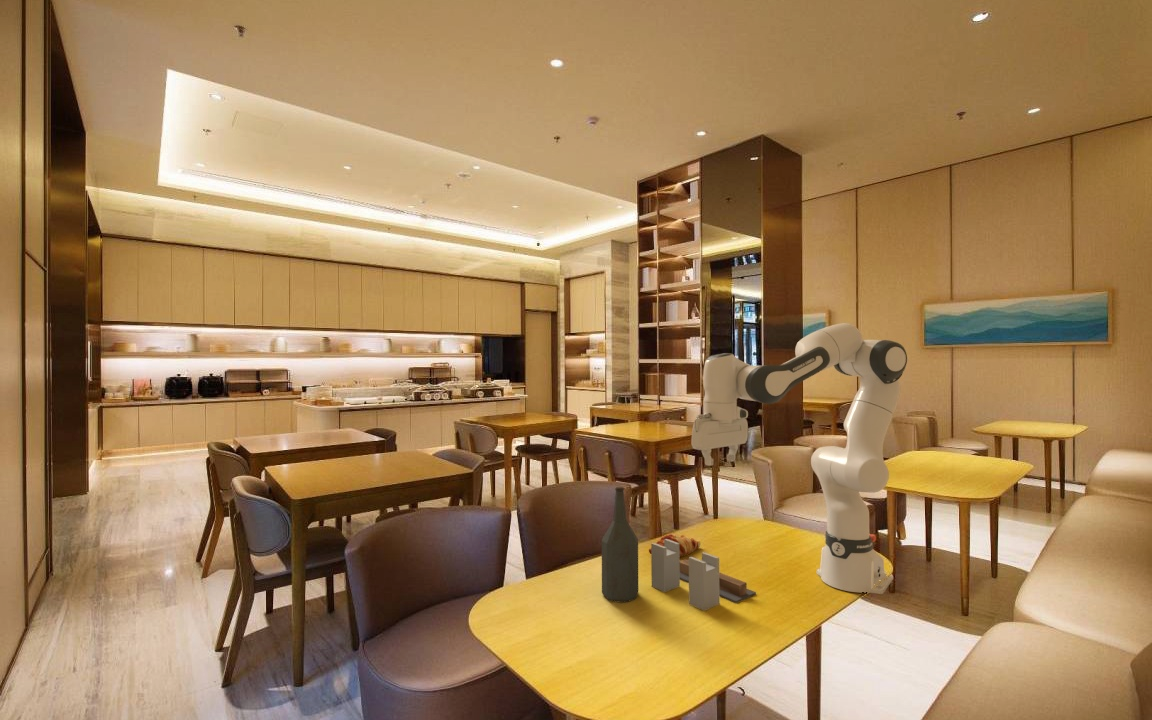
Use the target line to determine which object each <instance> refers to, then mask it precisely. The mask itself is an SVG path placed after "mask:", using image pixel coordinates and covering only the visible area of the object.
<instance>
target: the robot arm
mask: <svg viewBox="0 0 1152 720" xmlns="http://www.w3.org/2000/svg"><path fill="white" fill-rule="evenodd" d="M794 352H795V357H793V358H791V359H789V360H788V361H786V362H783V363H782V364H765V365H751V364H749V363H747V362H745V361H742V360H740V359H739V358H738V357H736V356H735V355H734V354H733V353H730V352H729V353H728V352H724V353H717V354H712V355H710V356H708V357H707V358H706V359H705V361H704V366H703V377H702V379H703V380H702V381H703V382H702V385H703V389H704V390H703V391H704V396H703V400H702V401H703V403H702V405H703V406H702V407H703V408H702V410H703V414H701V413H700V414H698V415H697V417H696V418H694V423H693V425H692V429H691V430H692V432H691V439H690V440H691V447H692V449H694V450H698V451H701V453H702V456H703V459H704V465H705V466H707V467H708V466H709V467H710V466H713V465H714V464H715V463H714V458H713V457H712V456H711V453H712V449H720V448H726V447H728V448H729V449H728V454H726V461H727V462H731V463H732V462H735V461H736V455H737V452H738V449H739V445H743V444H746V443H747V440H748V437H749V426H748V420H747V418H748V416H749V412H748V410H747V409H745V408H742V407H740V406H738V404H737V403H738V399H741V400H745V401H753V402H759V403H762V404H766V405H771V404H775V403H778V402H780V400H782V399H783V398H784V397H785V396H786V395H787V394H788V393H789V392H790V390H791V389H793V388H794V387H795V386H796V385H798V384H800V383H802V382H804V381H806V380H807V379H810V377H813V376H815V375H816V374H818V373H821V372H822V371H824V370H827V369H830V368H832V367H834V369H835V370H836V371H837V372H839V373H840V374H843V375H845V376H854V377H859V381H860V382H859V383H860V385H859V388H858V390H857V392H856V394H855V396H854V398H853V400H852V402H851V404H850V407H849V409H848V411H847V414H846V416H845V419H844V421H843V428H844V430H845V432H846V434H847V435H846V436H847V437H846V446H845V447H841V446H837V445H827V446H820V447H818V448H816V449H815V450H814V452H813V453H812V454H811V458H810V466H811V468H812V471H813V472H814V474H815V475H816V476H817V479H818V481H819V483H820V485H821V489H822V493H823V498H824V501H825V506H826V507H825V508H826V531H825V535H824V539H825V543H824V544H825V545H824V546H823V547H821V552H820V553H821V556H820V567H819V568H817V569H816V574H817V575H818V576H819V577H821V579H820V580H822V581H823V583H825V584H826V585H828V586H829V587H832V588H835V589H838V590H841V591H846V592H850V593H861V594H863V593H862V592H864V593H866V592H867V593H870V594H879V595H882V594H884V593H885V592H886V590H887V589H888V587H889V585H891V583H892V581H893V580H894V576H893V574H891V573H890V574H891V575H890V576H889V577H887V576H886V575H887V573H886V572H887V571H886V570H885V561H884V558H883V557H882V555H880V554H879V552H877V551H876V550H875V549H874V545H873V543H874V542H876V540H877V536H876V534H873V533H872V534H871V533H870V511H869V507H868V505H867V504H866V503H865V502H864V499H862V496H861V494H860V493H871V494H873V493H879V492H881V491H882V490H883V489H884V488H886V486H887V485H888V482H889V479H890V471H889V468H888V466H887V465H886V462H885V460H884V454H883V453H884V450H883V449H884V448H883V447H884V442H885V438H886V435H887V431H888V429H889V426H890V424H891V421H892V418H893V416H894V414H895V411H896V409H897V405H898V403H899V398H900V393H901V387H902V386H901V383H900V380H899V379H900V378H901V377H902V375H903V373H904V372H905V369H906V366H907V364H908V356H907V355H908V354H907V351H906V349H905V347H904V346H903V345H902V344H900V343H899V342H897V341H893V340H888V339H884V340H880V339H863V336H862V333H861V331H860V330H859V329H858V328H857V326H855V325H853V324H852V323H848V322H842V323H837V324H836V323H835V324H832V325H828V326H826V327H823V328H820V329H817V330H815V331H813V332H810V333H809V334H807V335H805V336H804V337H802V338H800V339H799V341H798V342H797V343H796V345H795V350H794ZM884 572H885V573H884ZM885 578H886V580H885V581H883V580H884V579H885ZM879 580H881V581H879ZM880 582H882V583H881V584H879V583H880ZM874 584H875V585H874ZM877 584H879V585H878V586H876V585H877ZM874 586H876V587H875V588H873V587H874ZM872 588H873V589H872ZM869 590H870V591H869Z"/></svg>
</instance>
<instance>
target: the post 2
mask: <svg viewBox="0 0 1152 720" xmlns="http://www.w3.org/2000/svg"><path fill="white" fill-rule="evenodd" d="M688 561H689V583H688V604H689V605H690V606H693V607H695V608H697V609H699V610H701V611H702V612H703V611H704V612H705V611H707V610H710V609H711V608H714V607H716V606H718V605H720V604H721V603H720V596H719V572H720V557H718V556H716V555H713V554H710V553H709V552H708V553H707V552H701V560H700V559H699V558H696V557H693V556H689V557H688Z"/></svg>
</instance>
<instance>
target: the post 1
mask: <svg viewBox="0 0 1152 720" xmlns="http://www.w3.org/2000/svg"><path fill="white" fill-rule="evenodd" d="M656 543H657V542H651V543H650V545H651V546H650V549H651V554H650V557H651V558H650V559H651V561H650V562H651V570H650V571H651V573H650V574H651V587H653V588H655V589H656V590H659V591H661V592H662V593H666V592H669V591H672V590H674V589H677V588H679V587H680V586H681V584H680V582H681V580H680V561H681V559H680V554H679V543H677V542H674V541H671V540H668V539H664V546H661V545H659V544H656Z"/></svg>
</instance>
